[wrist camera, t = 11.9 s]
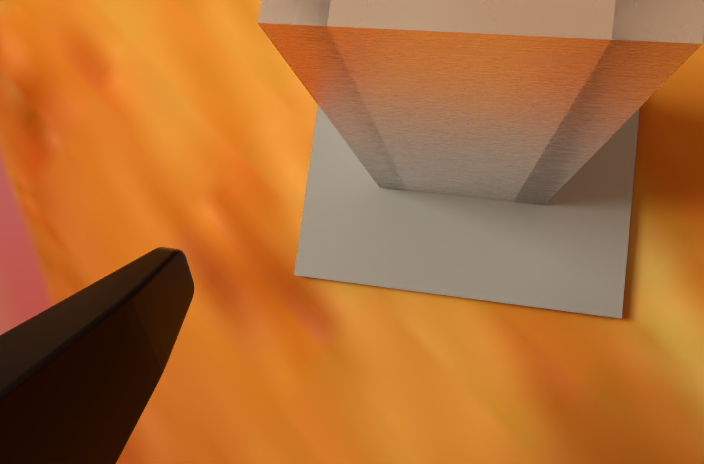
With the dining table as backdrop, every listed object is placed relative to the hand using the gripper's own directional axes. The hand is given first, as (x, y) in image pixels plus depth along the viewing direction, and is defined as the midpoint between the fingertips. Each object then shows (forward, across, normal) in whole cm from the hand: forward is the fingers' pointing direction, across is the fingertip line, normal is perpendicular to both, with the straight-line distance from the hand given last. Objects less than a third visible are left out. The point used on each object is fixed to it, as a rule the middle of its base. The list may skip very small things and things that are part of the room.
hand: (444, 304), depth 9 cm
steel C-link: (+11, 0, +3) cm, 12 cm away
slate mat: (+11, 0, +3) cm, 12 cm away
